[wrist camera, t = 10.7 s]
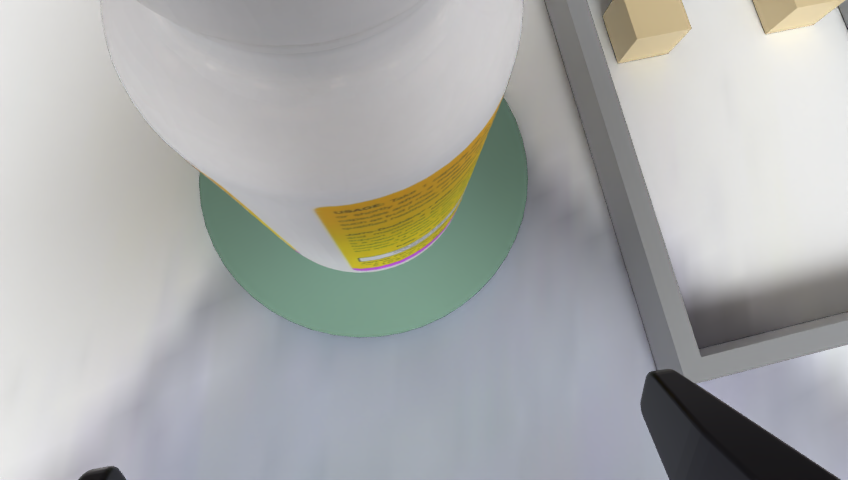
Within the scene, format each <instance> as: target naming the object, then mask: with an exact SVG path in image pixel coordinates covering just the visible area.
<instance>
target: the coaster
mask: <svg viewBox="0 0 848 480" xmlns="http://www.w3.org/2000/svg"><path fill="white" fill-rule="evenodd" d="M527 183H528V175H527V161H526V154H525V150H524V145H523V140H522V137H521V134H520V131H519V128H518V125H517V123H516V120H515V118H514V116H513V114H512V112H511V110H510V108H509V106H508V104H507V102H506V101H505V99H504V98H502V101H501V103H500V106H499V108H498V111H497V113H496V115H495V118H494V120H493V123H492V125H491V127H490V130H489V132H488V135H487V137H486V140H485V142H484V145H483V148H482V150H481V152H480V155H479V157H478V160H477V162H476V165H475V167H474V170H473V172H472V175H471V177H470V180H469V182H468V185H467V187H466V190H465V192H464V194H463V197H462V200H461V202H460V204H459V206H458V208H457V211H456V213H455V215H454V217H453V218H452V220H451V222H450V224H449V225H448V227H447V228H446V230H445V231H444V232H443V233H442V235H441V236H440V237H439V238H438V239H437V240H436V241H435V242H434V243H433V244H432V245H431V246H430V247H429V248H428V249H426V250H425V251H424V252H423V253H421V254H420V255H418V256H417V257H415V258H413V259H411V260H410V261H408V262H406V263H404V264H401V265H398V266H396V267H393V268H390V269H386V270H381V271H376V272H363V273H355V272H345V271H340V270H335V269H331V268H328V267H325V266H322V265H319V264H317V263H315V262H313V261H311V260H309V259H308V258H306V257H304V256H303V255H301V254H300V253H298V252H296V251H295V250H294V249H292V248H291V247H290V246H289V245H287V244H286V243H285V242H284V241H282V240H281V239H280V238H279V237H278V236H276V235H275V234H274V233H273V232H272V231H271V230H270V229H268V228H267V227H266V226H265V225H263V224H262V223H261V222H260V221H259V220H258V219H257V218H256V217H254V216H253V215H252V214H251V213H249V212H248V211H247V210H246V209H245V208H244V207H243V206H241V205H240V204H239V203H238V202H237V201H235V200H234V199H233V198H232V197H231V196H229V195H228V194H227V193H226V192H224V191H223V190H222V189H221V188H220V187H218V186H217V185H216V184H215V183H213V182H212V181H211V180H210V179H209V178H208V177H206V176H205V175H203V174H202V173H201V172H200V177H199V188H200V199H201V207H202V212H203V216H204V220H205V224H206V228H207V230H208V233H209V235H210V238H211V240H212V243H213V245H214V247H215V249H216V251H217V253H218V254H219V256H220V258H221V260H222V262H223V263H224V265H225V266H226V268H227V269H228V270H229V272H230V273H231V274H232V275H233V277H234V278H235V279H236V281H237V282H238V283H239V284H240V285H241V286H242V287H243V288H244V289H245V290H246V291H247V292H248V293H249V294H250V295H251V296H252V297H253V298H255V299H256V300H257V301H259V302H260V303H261V304H263V305H264V306H265V307H267V308H268V309H269V310H271V311H272V312H274V313H276V314H278V315H280V316H282V317H283V318H285V319H287V320H289V321H291V322H293V323H296V324H298V325H301V326H304V327H306V328H309V329H311V330H315V331H320V332H324V333H328V334H332V335H340V336H350V337H380V336H386V335H392V334H398V333H403V332H406V331H410V330H413V329H416V328H419V327H423V326H425V325H427V324H429V323H431V322H433V321H436V320H438V319H440V318H442V317H444V316H446V315H447V314H449V313H450V312H452V311H454V310H455V309H457V308H458V307H460V306H462V305H463V304H464V303H465V302H467V301H468V300H469V299H470V298H471V297H473V296H474V295H475V294H476V293H477V292H479V291H480V290H481V288H482V287H483V286H484V285H485V284H486V283H487V282H488V281H489V280H490V279H491V278H492V276H493V275H494V274H495V273H496V271H497V270H498V268H499V267H500V265H501V264H502V262H503V261H504V260H505V258H506V256H507V255H508V253H509V251H510V249H511V247H512V245H513V243H514V241H515V239H516V236H517V233H518V230H519V227H520V224H521V222H522V219H523V214H524V209H525V204H526V199H527Z"/></svg>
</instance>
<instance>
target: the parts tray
mask: <svg viewBox="0 0 848 480" xmlns="http://www.w3.org/2000/svg"><path fill="white" fill-rule="evenodd" d="M753 2H754V5H755V8H756V10H757V13H758V15H759V18H760V21H761V23H762V26H763V28H764V31H765V34H769V33H774V32H779V31H784V30H790V29H795V28H800V27H805V26H810V25H814V24H815V23H816V22H818V21H819V20H820V19H822V18H823V17H824V16H825V15H827V14H828V13H829V12H831V11H832V10H833V9H835V8H836V7H837V6H839V9H840V11H841V13H842V16H843V18H844V21H845V23H846V25H847V28H848V0H753ZM545 3H546V6H547V10H548V13H549V16H550V20H551V23H552V26H553V29H554V33H555V36H556V39H557V43H558V46H559V49H560V52H561V56H562V59H563V62H564V65H565V69H566V72H567V75H568V79H569V82H570V85H571V88H572V92H573V95H574V98H575V102H576V105H577V108H578V111H579V115H580V118H581V121H582V125H583V128H584V131H585V134H586V138H587V141H588V144H589V147H590V151H591V154H592V157H593V161H594V164H595V167H596V170H597V174H598V177H599V180H600V184H601V187H602V190H603V193H604V197H605V200H606V203H607V207H608V210H609V213H610V216H611V220H612V223H613V226H614V229H615V233H616V236H617V239H618V243H619V246H620V249H621V252H622V256H623V259H624V262H625V266H626V269H627V272H628V275H629V279H630V282H631V285H632V289H633V292H634V295H635V298H636V302H637V305H638V308H639V311H640V315H641V318H642V321H643V325H644V328H645V331H646V334H647V338H648V341H649V344H650V348H651V351H652V354H653V357H654V361H655V364H656V367H657V370H662V369H673V370H675V371H677V372H679V373H680V374H682V375H683V376H685V377H686V378H688V379H689V380H691V381H692V382H694V383H695V384H696V383H700V382H704V381H708V380H712V379H716V378H720V377H724V376H727V375H731V374H735V373H739V372H743V371H747V370H751V369H755V368H758V367H762V366H766V365H770V364H774V363H778V362H782V361H786V360H789V359H793V358H797V357H801V356H805V355H809V354H813V353H817V352H821V351H824V350H828V349H832V348H836V347H840V346H844V345H848V312H845V313H841V314H837V315H833V316H829V317H825V318H821V319H817V320H813V321H809V322H805V323H801V324H797V325H793V326H789V327H785V328H781V329H778V330H774V331H770V332H766V333H762V334H758V335H754V336H750V337H746V338H742V339H738V340H734V341H730V342H726V343H722V344H718V345H714V346H710V347H706V348H702V349H698V346H697V343H696V339H695V336H694V333H693V330H692V327H691V324H690V321H689V318H688V314H687V311H686V308H685V305H684V302H683V299H682V296H681V293H680V290H679V286H678V283H677V280H676V277H675V274H674V271H673V268H672V265H671V262H670V258H669V255H668V252H667V249H666V246H665V243H664V240H663V237H662V233H661V230H660V227H659V224H658V221H657V218H656V215H655V212H654V209H653V205H652V202H651V199H650V196H649V193H648V190H647V187H646V184H645V180H644V177H643V174H642V171H641V168H640V165H639V162H638V159H637V156H636V152H635V149H634V146H633V143H632V140H631V137H630V134H629V131H628V127H627V124H626V121H625V118H624V115H623V112H622V109H621V106H620V103H619V99H618V96H617V93H616V90H615V87H614V84H613V81H612V78H611V74H610V71H609V68H608V65H607V62H606V59H605V56H604V53H603V50H602V46H601V43H600V40H599V37H598V34H597V31H596V28H595V25H594V21H593V18H592V15H591V12H590V9H589V6H588V3H587V0H545ZM603 19H604V22H605V25H606V28H607V31H608V34H609V37H610V40H611V44H612V47H613V50H614V53H615V56H616V59H617V62H618V63H623V62H628V61H633V60H638V59H643V58H648V57H653V56H658V55H663V54H668V53H669V52H670V51H671V50H672V49H673V48H674V47H675V46H676V45H677V44H678V42H679V41H680V40H681V39H682V38H683V37H684V36H685V35H686V34H687V33H688V32H689V31H690V30H691V29H692V28H691V25H690V23H689V20H688V17H687V14H686V11H685V9H684V6H683V3H682V0H612V2H611V3H610V5H609V7H608V8H607V10H606V11H605V13H604V15H603Z"/></svg>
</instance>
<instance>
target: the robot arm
mask: <svg viewBox="0 0 848 480" xmlns="http://www.w3.org/2000/svg"><path fill="white" fill-rule="evenodd" d="M641 411H642V415H643V417H644V420H645V422H646V425H647V427H648V429H649V432H650V434H651V437H652V439H653V441H654V444H655V446H656V449H657V451H658V453H659V456H660V458H661V461H662V463H663V465H664V468H665V470H666V473H667V475H668V477H669V480H840V479H839V478H837V477H836V476H834V475H833V474H831V473H830V472H828V471H827V470H825V469H824V468H822V467H821V466H819V465H818V464H816V463H815V462H813V461H812V460H810V459H809V458H807V457H806V456H804V455H803V454H801V453H800V452H798V451H797V450H795V449H794V448H792V447H791V446H789V445H788V444H786V443H785V442H783V441H781V440H780V439H778V438H777V437H775V436H774V435H772V434H771V433H769V432H768V431H766V430H765V429H763V428H762V427H760V426H759V425H757V424H756V423H754V422H753V421H751V420H750V419H748V418H747V417H745V416H744V415H742V414H741V413H739V412H738V411H736V410H735V409H733V408H732V407H730V406H729V405H727V404H726V403H724V402H723V401H721V400H720V399H718V398H717V397H715V396H713V395H712V394H710V393H709V392H707V391H706V390H704V389H703V388H701V387H700V386H698V385H697V384H695V383H694V382H692V381H691V380H689V379H688V378H686V377H685V376H683V375H682V374H680V373H679V372H677V371H675V370H673V369H662V370H656V371H651V372H649V373H648V374H647V376H646V380H645V384H644V389H643V393H642V398H641ZM78 480H126V479H125V477H124V476H123V474H122V473H121V471H120V470H119V469H118V468H117V467H114V466H108V467H103V468H97V469H92V470H89V471H87V472H86V473H84V474H83V475H82V476H81V477H80V478H79V479H78Z"/></svg>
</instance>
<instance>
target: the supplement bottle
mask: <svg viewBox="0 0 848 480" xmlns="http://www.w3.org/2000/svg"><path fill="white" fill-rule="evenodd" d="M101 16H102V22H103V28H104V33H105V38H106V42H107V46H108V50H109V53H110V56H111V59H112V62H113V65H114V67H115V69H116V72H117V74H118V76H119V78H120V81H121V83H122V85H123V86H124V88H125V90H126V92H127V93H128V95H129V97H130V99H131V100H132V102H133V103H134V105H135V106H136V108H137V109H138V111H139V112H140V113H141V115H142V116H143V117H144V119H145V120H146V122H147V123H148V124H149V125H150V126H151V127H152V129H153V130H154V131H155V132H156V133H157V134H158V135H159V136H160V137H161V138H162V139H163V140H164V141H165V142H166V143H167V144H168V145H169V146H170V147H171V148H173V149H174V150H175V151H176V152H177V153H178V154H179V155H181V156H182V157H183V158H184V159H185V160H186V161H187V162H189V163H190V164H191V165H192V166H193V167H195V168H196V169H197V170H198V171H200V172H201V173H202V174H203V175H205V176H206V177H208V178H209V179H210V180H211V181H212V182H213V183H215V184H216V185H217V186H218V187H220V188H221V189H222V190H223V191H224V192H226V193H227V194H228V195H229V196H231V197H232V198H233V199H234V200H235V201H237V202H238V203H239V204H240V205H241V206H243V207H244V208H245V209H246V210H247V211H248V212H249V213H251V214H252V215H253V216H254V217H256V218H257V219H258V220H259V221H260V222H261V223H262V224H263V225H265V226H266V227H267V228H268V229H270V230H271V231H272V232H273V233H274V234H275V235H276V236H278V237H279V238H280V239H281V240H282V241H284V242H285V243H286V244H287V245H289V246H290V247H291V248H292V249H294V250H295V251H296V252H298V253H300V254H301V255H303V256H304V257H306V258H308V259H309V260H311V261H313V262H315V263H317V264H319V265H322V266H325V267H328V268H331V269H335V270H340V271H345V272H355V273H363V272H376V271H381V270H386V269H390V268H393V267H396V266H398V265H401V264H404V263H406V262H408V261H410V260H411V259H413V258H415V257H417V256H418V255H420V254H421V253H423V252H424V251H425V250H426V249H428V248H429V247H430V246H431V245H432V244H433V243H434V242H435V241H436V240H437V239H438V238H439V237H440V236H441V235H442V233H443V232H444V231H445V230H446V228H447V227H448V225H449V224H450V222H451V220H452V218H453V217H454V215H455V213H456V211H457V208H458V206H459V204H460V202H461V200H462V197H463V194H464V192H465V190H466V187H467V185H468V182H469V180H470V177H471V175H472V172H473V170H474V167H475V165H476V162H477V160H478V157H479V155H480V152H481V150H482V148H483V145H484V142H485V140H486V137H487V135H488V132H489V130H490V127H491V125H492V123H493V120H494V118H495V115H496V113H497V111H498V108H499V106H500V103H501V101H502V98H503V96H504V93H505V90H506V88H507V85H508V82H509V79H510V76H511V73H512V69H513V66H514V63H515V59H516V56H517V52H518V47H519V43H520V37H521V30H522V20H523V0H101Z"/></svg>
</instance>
